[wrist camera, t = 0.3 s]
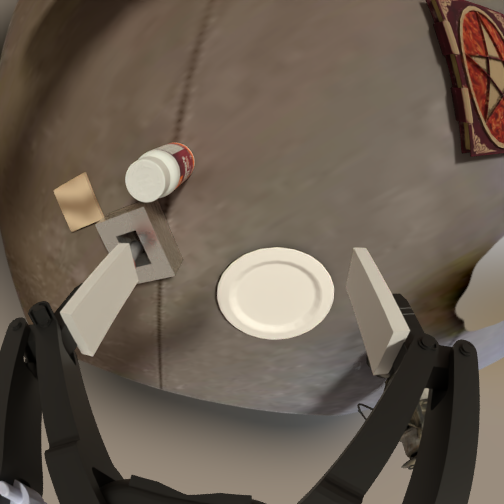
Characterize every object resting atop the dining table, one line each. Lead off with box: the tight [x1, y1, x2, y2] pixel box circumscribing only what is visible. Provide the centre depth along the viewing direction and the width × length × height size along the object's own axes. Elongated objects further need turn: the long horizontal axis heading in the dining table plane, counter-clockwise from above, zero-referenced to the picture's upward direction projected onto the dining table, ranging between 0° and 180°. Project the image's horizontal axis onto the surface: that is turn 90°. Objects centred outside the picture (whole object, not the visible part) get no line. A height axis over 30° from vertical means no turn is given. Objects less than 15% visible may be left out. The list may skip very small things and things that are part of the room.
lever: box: [129, 240, 143, 269], centre depth 38 cm, size 4×4×6 cm
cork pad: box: [54, 172, 104, 232], centre depth 42 cm, size 9×9×1 cm
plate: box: [217, 247, 334, 340], centre depth 49 cm, size 21×21×2 cm
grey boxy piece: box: [95, 199, 184, 284], centre depth 43 cm, size 12×10×5 cm
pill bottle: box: [125, 143, 195, 202], centre depth 33 cm, size 6×6×11 cm
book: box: [426, 0, 504, 157], centre depth 24 cm, size 28×21×5 cm
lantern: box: [357, 356, 429, 469], centre depth 44 cm, size 19×19×30 cm
